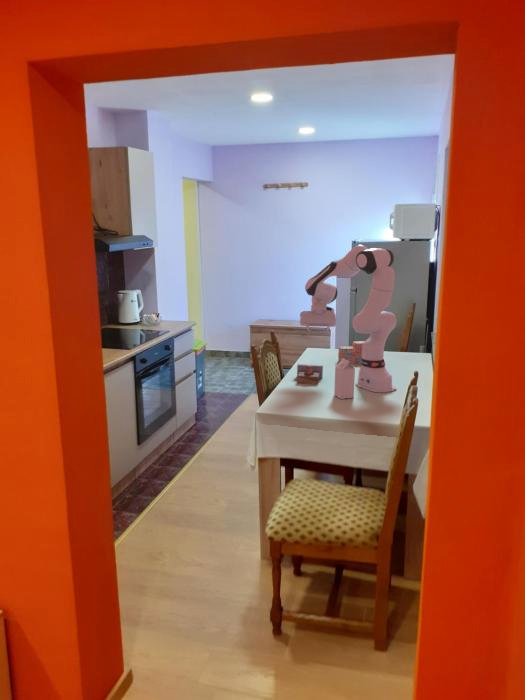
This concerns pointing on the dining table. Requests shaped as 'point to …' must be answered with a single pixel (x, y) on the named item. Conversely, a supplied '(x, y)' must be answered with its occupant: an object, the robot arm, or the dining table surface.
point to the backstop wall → (314, 368)
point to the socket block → (308, 377)
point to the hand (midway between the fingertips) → (317, 331)
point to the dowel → (308, 370)
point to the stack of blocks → (351, 352)
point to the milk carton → (344, 380)
